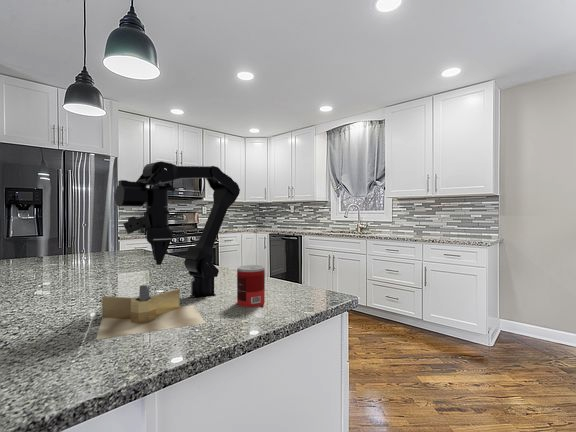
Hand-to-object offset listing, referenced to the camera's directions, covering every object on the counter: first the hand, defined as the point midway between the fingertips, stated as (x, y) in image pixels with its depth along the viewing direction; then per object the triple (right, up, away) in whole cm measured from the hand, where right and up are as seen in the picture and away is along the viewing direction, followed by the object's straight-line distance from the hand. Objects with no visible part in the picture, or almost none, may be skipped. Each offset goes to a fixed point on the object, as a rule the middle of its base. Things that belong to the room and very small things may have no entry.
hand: (157, 262), depth 89 cm
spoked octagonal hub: (+1, -12, -11) cm, 17 cm away
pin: (+2, -12, -13) cm, 18 cm away
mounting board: (+4, -13, -13) cm, 19 cm away
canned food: (+26, -13, +1) cm, 29 cm away
